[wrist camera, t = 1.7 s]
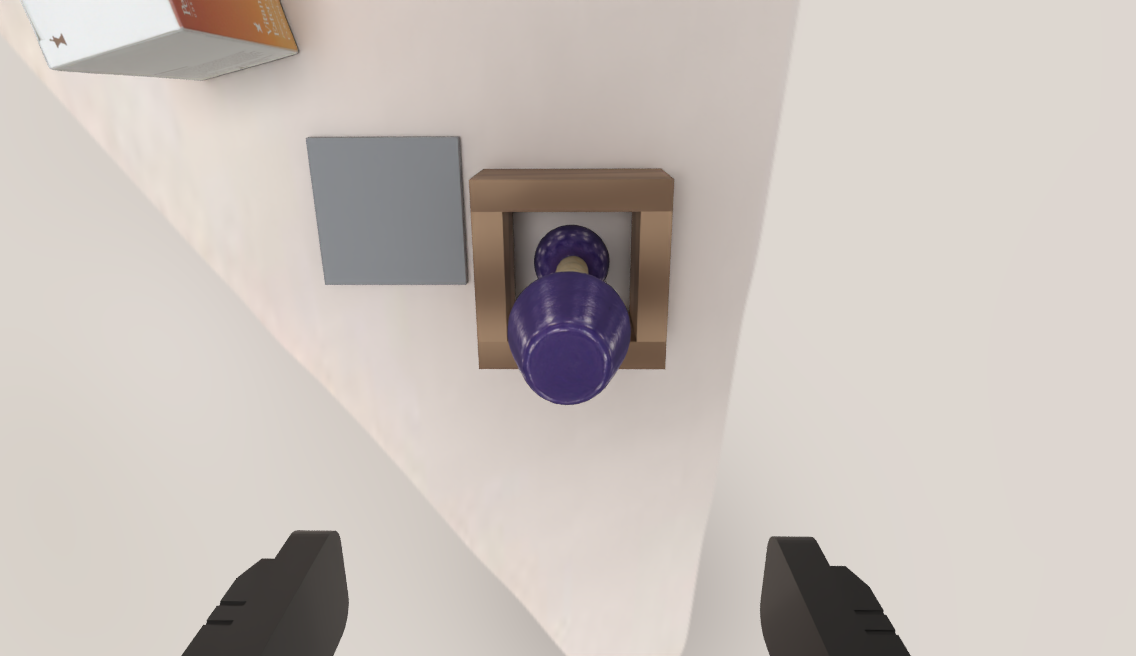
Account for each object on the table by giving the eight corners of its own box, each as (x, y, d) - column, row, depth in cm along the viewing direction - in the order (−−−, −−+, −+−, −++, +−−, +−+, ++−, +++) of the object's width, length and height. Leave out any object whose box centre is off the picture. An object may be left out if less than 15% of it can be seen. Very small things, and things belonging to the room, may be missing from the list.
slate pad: (310, 137, 35) (305, 137, 34) (459, 136, 35) (457, 137, 34) (328, 281, 37) (325, 284, 37) (467, 281, 37) (466, 284, 37)
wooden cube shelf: (483, 169, 35) (468, 179, 31) (661, 168, 35) (674, 179, 30) (491, 335, 38) (479, 368, 34) (654, 335, 38) (664, 368, 34)
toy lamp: (514, 240, 37) (467, 346, 21) (587, 197, 36) (595, 275, 20) (558, 310, 38) (545, 460, 22) (628, 271, 37) (667, 398, 21)
